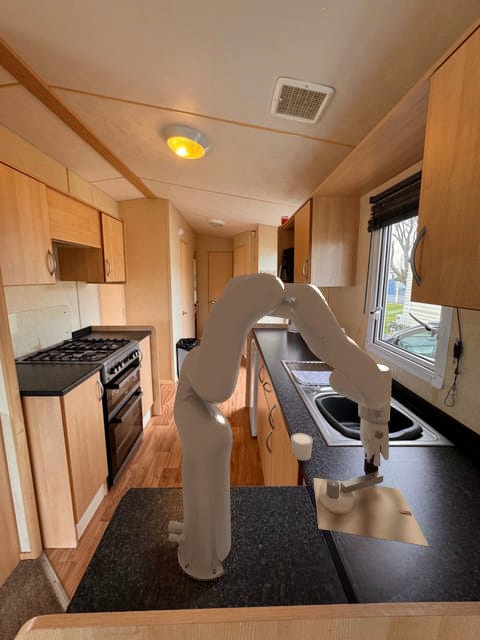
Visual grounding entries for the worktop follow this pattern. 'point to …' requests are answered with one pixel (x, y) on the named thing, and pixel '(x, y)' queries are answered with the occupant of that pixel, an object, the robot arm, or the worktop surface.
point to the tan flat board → (373, 515)
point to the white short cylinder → (301, 446)
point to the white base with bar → (345, 492)
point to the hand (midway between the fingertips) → (370, 473)
